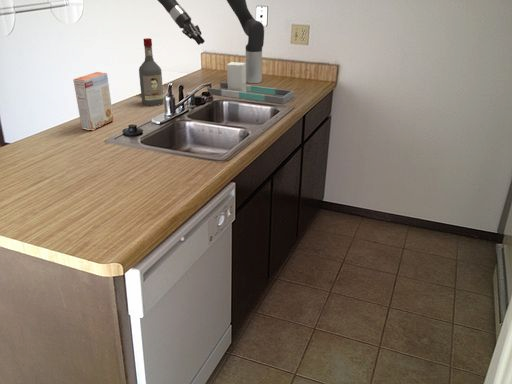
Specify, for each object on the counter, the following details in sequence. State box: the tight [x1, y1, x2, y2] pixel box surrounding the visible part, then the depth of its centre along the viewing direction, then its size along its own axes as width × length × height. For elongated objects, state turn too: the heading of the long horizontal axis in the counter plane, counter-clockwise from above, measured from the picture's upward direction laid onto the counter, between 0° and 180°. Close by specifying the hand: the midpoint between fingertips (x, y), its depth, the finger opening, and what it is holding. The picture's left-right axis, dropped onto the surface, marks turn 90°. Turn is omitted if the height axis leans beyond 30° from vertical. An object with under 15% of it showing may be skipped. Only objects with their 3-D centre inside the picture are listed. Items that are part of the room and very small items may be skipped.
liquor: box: [138, 37, 165, 106], centre depth 222 cm, size 9×9×30 cm
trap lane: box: [207, 81, 295, 105], centre depth 244 cm, size 15×42×3 cm, turn 66°
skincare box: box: [226, 61, 247, 93], centre depth 244 cm, size 8×7×16 cm
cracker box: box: [73, 71, 114, 129], centre depth 193 cm, size 14×6×21 cm, turn 157°
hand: (201, 43), depth 244 cm, fingers open, 2 cm apart
